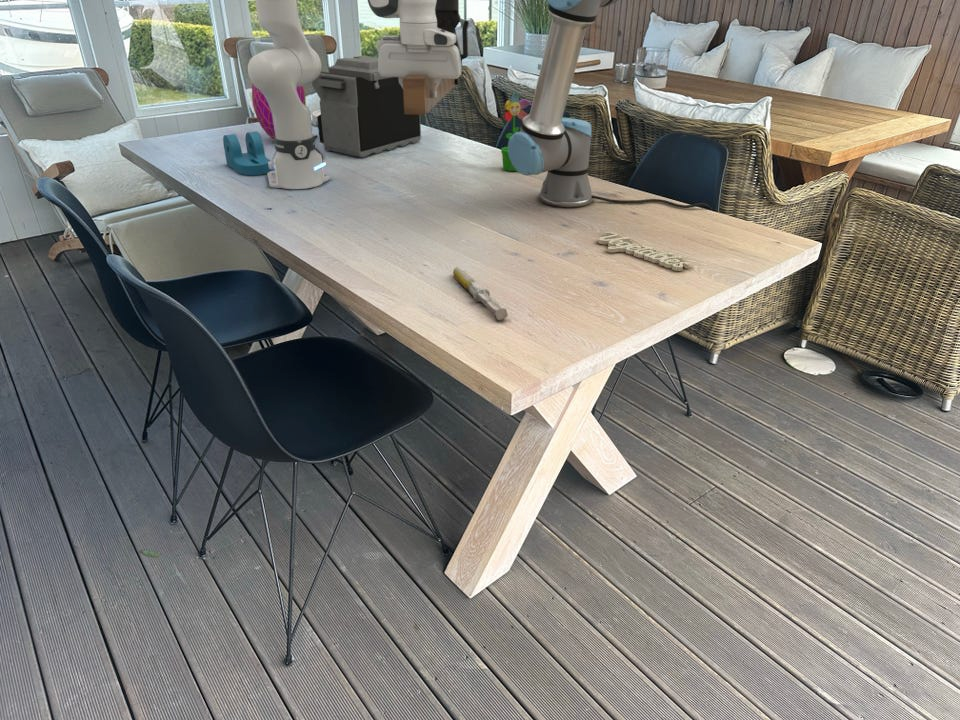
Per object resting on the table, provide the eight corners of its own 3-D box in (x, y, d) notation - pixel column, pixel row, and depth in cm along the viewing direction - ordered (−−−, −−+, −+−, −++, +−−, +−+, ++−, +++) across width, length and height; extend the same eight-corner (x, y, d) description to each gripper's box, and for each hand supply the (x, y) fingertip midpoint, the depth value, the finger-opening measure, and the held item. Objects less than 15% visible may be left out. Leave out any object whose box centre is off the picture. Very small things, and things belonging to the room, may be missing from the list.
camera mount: (227, 164, 233) (221, 132, 227) (257, 160, 238) (252, 129, 233) (244, 176, 220) (239, 143, 215) (276, 172, 225) (271, 139, 220)
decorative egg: (293, 132, 276) (283, 50, 261) (319, 140, 264) (310, 56, 249) (249, 139, 265) (236, 54, 250) (273, 148, 253) (261, 60, 238)
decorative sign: (584, 239, 172) (609, 230, 178) (583, 243, 172) (609, 234, 178) (672, 271, 155) (697, 260, 161) (671, 275, 156) (696, 264, 161)
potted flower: (506, 173, 227) (508, 93, 214) (495, 167, 233) (496, 89, 220) (530, 170, 231) (534, 91, 218) (519, 164, 237) (522, 87, 224)
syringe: (449, 274, 155) (449, 263, 153) (465, 272, 156) (464, 260, 154) (490, 323, 135) (491, 310, 133) (508, 319, 136) (508, 307, 134)
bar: (442, 81, 211) (441, 52, 207) (459, 82, 211) (458, 53, 207) (404, 114, 165) (402, 77, 161) (425, 114, 165) (424, 78, 161)
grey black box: (383, 133, 276) (378, 52, 261) (425, 141, 265) (422, 56, 250) (314, 150, 251) (304, 61, 235) (358, 160, 240) (350, 67, 224)
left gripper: (372, 35, 161) (376, 97, 168) (458, 38, 159) (458, 100, 166) (379, 33, 167) (382, 93, 174) (462, 35, 165) (462, 96, 172)
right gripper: (410, -5, 190) (414, 85, 202) (476, -4, 189) (475, 86, 201) (415, -6, 197) (418, 81, 209) (478, -5, 195) (478, 82, 207)
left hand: (420, 97), depth 170 cm, fingers closed on bar, 5 cm apart
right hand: (446, 83), depth 205 cm, fingers closed on bar, 5 cm apart
